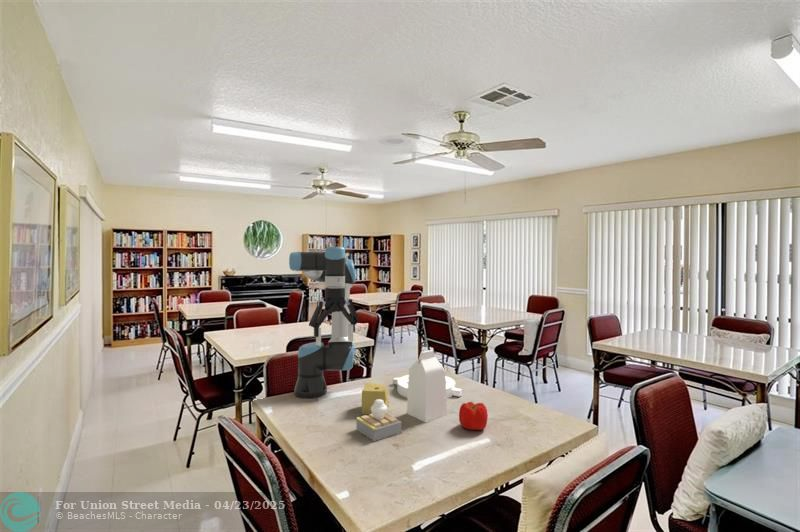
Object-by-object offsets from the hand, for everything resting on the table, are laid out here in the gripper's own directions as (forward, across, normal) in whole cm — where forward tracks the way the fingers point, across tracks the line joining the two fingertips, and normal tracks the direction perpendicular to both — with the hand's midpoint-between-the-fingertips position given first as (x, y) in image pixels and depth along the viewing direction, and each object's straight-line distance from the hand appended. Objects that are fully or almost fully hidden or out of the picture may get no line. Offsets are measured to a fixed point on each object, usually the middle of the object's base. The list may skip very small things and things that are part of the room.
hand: (335, 343), depth 152 cm
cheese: (+32, +21, +4) cm, 38 cm away
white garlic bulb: (+27, +11, -14) cm, 32 cm away
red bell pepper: (+32, +42, -32) cm, 62 cm away
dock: (+32, +11, -14) cm, 36 cm away
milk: (+32, +36, -12) cm, 49 cm away
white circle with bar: (+32, +55, +11) cm, 65 cm away
